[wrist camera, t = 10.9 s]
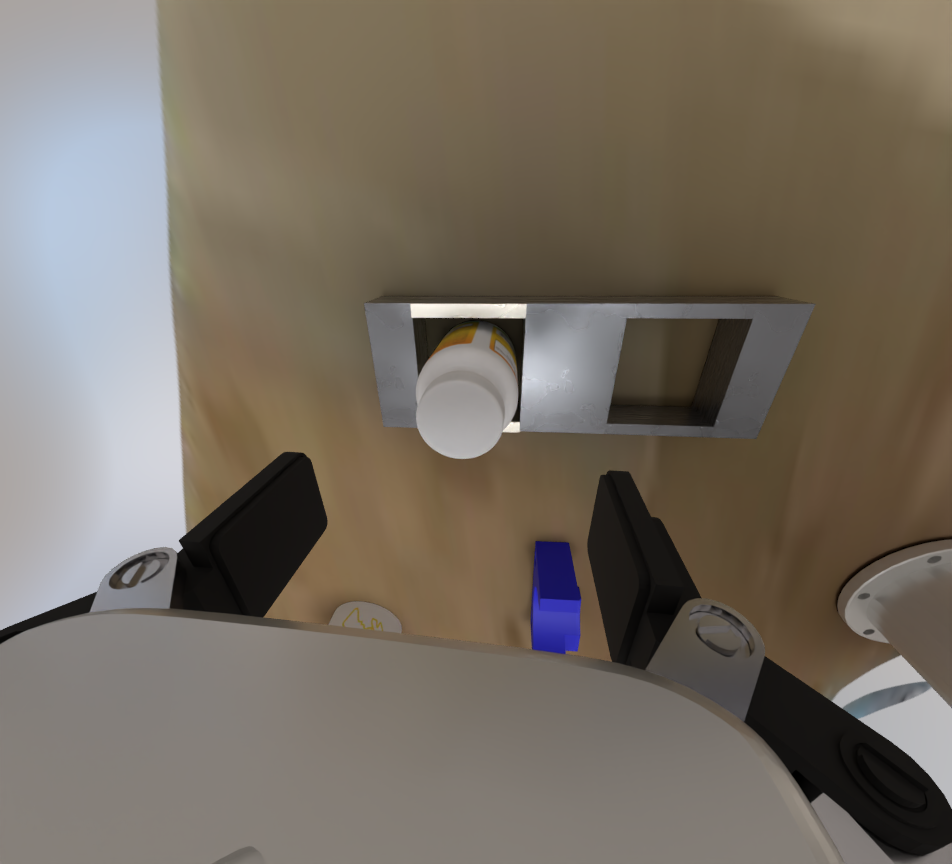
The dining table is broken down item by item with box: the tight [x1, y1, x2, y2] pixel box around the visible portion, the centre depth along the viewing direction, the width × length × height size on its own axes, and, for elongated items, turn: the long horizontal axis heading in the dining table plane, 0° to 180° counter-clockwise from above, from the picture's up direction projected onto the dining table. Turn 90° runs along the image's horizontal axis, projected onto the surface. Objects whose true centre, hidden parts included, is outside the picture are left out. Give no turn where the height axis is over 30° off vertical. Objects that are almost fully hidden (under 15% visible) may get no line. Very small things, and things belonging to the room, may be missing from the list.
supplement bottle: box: [416, 320, 518, 459], centre depth 19 cm, size 5×5×10 cm
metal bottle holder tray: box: [364, 296, 815, 439], centre depth 22 cm, size 24×8×3 cm, turn 91°
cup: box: [328, 601, 402, 633], centre depth 35 cm, size 8×8×12 cm
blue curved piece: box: [531, 541, 581, 654], centre depth 32 cm, size 12×4×6 cm, turn 2°
